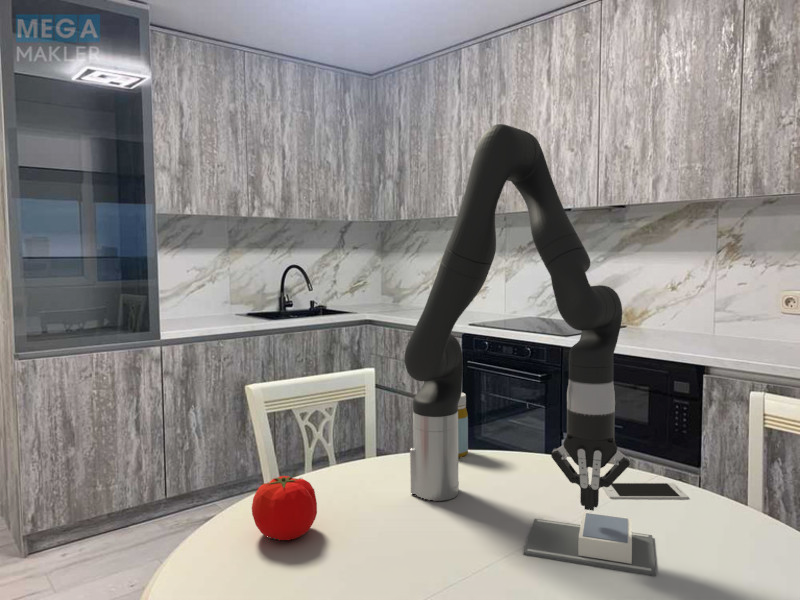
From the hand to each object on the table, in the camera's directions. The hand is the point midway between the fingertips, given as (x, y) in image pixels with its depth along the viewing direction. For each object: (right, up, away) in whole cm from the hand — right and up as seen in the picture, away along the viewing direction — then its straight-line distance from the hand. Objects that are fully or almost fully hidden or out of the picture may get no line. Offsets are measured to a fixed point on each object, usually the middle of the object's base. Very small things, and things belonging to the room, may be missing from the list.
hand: (589, 508), depth 99 cm
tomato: (-52, -7, +7) cm, 53 cm away
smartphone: (+18, -5, +22) cm, 29 cm away
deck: (+2, -5, -1) cm, 5 cm away
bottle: (-19, -3, +47) cm, 51 cm away
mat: (0, -7, 0) cm, 6 cm away
